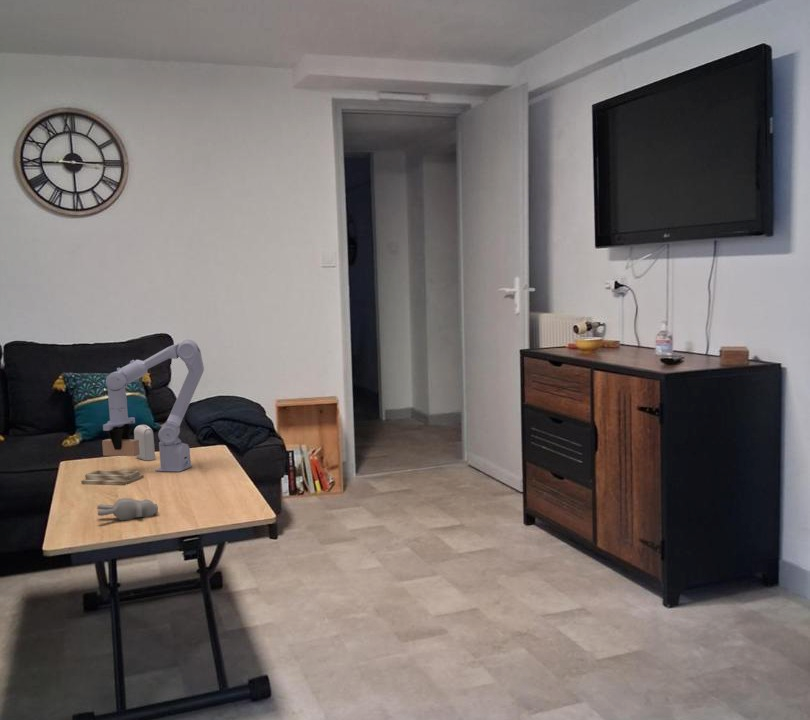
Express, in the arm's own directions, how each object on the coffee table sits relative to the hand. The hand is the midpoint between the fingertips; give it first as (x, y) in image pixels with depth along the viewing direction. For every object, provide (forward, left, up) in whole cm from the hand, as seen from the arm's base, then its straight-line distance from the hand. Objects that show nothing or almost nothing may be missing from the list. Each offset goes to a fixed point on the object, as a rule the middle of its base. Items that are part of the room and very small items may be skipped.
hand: (121, 448), depth 271 cm
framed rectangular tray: (-3, +10, -8) cm, 13 cm away
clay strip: (0, 0, -2) cm, 2 cm away
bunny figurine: (-35, +48, -9) cm, 60 cm away
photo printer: (+6, -22, -9) cm, 24 cm away
